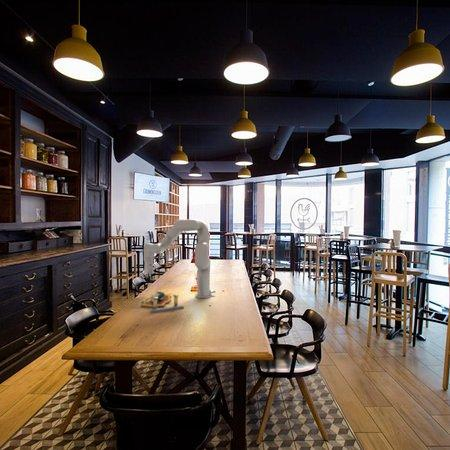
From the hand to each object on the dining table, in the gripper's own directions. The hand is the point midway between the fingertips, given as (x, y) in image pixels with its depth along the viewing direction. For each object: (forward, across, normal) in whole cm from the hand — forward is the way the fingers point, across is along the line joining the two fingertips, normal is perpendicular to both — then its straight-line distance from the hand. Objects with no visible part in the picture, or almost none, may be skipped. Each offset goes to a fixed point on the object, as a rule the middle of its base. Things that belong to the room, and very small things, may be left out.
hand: (148, 282), depth 243 cm
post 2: (+9, -44, -8) cm, 45 cm away
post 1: (+9, -44, +6) cm, 45 cm away
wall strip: (+9, -46, -1) cm, 47 cm away
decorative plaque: (+10, -24, 0) cm, 26 cm away
